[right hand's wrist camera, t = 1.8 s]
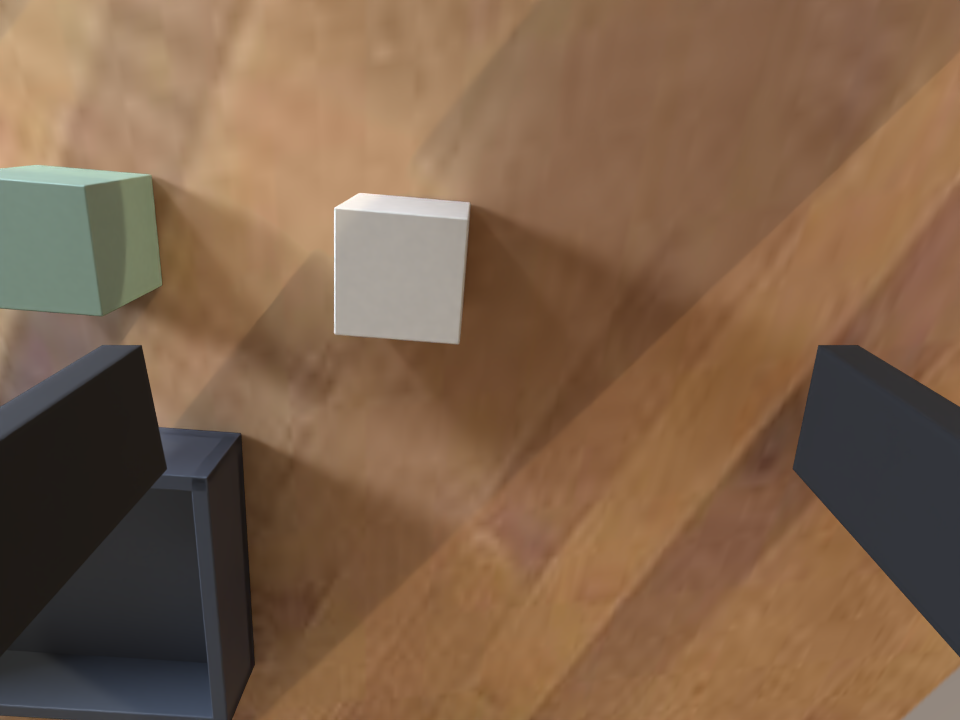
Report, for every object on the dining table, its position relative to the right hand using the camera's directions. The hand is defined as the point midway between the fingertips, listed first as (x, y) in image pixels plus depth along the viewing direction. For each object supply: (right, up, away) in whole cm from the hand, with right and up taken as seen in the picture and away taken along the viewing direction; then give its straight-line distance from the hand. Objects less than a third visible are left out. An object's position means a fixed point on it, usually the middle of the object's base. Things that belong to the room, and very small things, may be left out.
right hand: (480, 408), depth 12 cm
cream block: (-3, +6, +16) cm, 18 cm away
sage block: (-17, +7, +16) cm, 24 cm away
